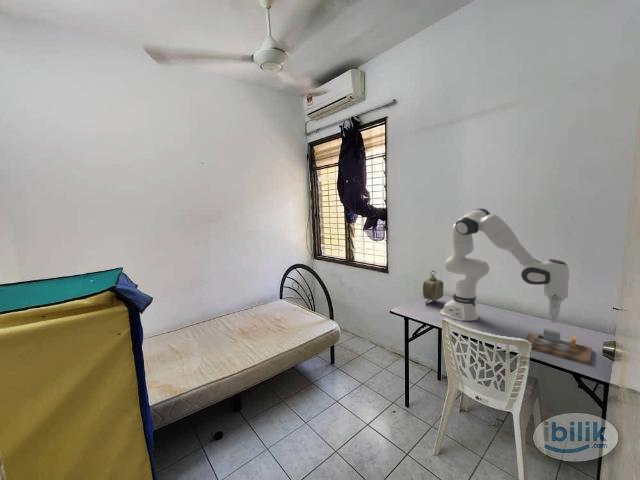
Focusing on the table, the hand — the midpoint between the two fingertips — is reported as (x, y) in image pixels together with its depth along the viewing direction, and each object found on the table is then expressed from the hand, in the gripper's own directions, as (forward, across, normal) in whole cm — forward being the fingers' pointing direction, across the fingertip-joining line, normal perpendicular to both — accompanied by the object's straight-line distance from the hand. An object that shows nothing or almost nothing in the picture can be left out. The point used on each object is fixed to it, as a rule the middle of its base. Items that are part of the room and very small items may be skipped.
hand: (554, 318), depth 132 cm
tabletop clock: (+15, +25, +69) cm, 75 cm away
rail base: (+14, -3, -1) cm, 15 cm away
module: (+13, -3, +1) cm, 13 cm away
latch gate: (+13, +3, -7) cm, 15 cm away
